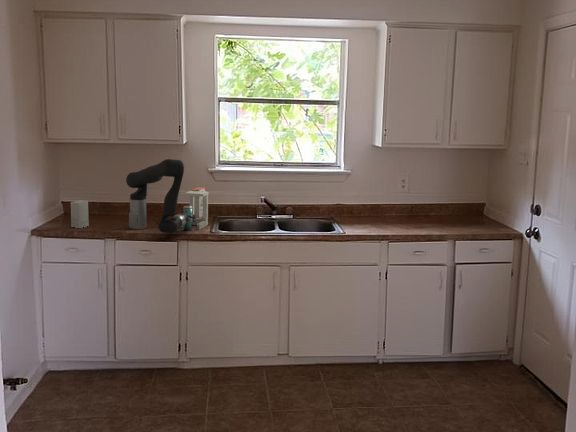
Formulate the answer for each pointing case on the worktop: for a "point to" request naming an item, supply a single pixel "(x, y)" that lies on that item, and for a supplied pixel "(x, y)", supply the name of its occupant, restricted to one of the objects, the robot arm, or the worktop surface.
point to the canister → (189, 225)
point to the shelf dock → (204, 221)
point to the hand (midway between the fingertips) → (189, 216)
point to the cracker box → (198, 203)
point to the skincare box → (79, 214)
